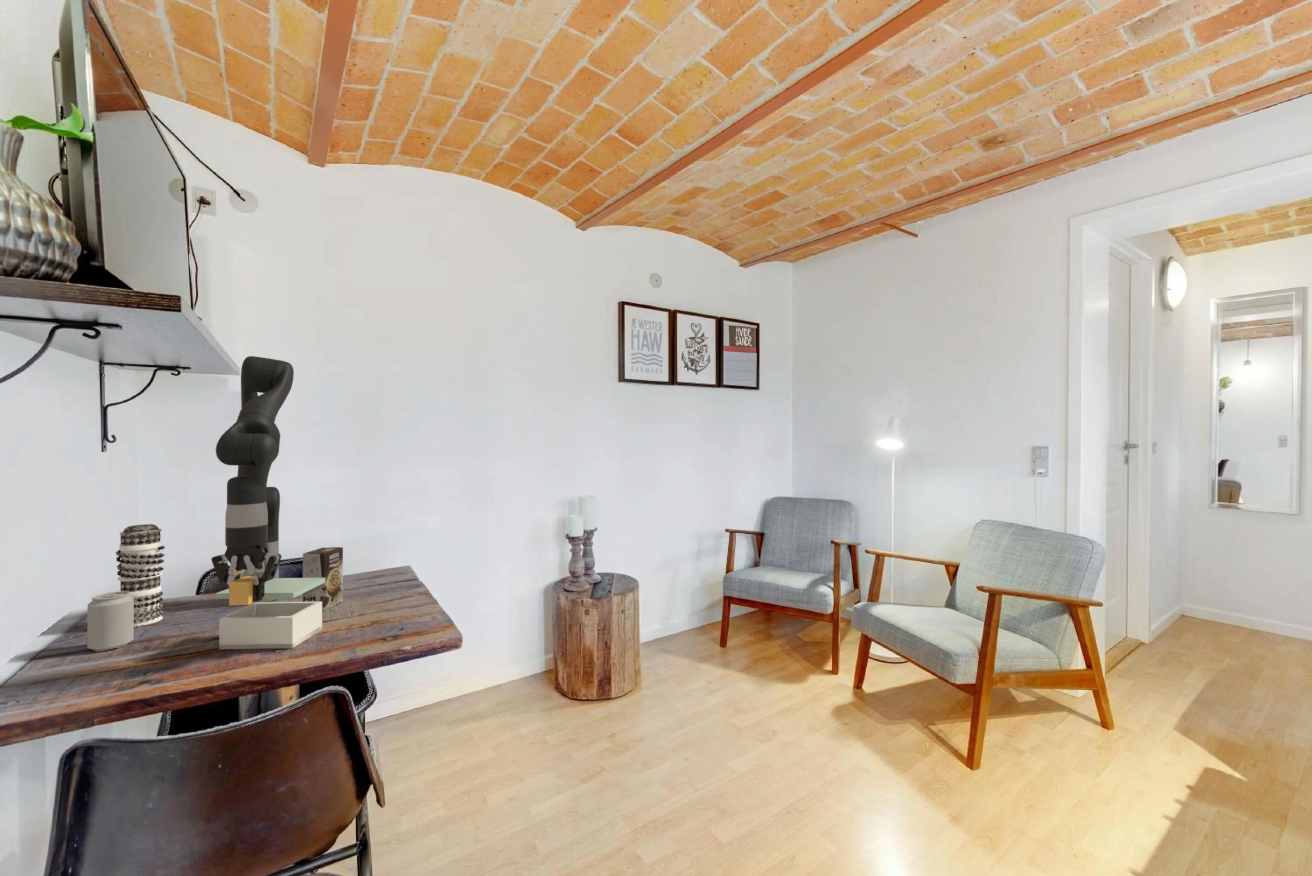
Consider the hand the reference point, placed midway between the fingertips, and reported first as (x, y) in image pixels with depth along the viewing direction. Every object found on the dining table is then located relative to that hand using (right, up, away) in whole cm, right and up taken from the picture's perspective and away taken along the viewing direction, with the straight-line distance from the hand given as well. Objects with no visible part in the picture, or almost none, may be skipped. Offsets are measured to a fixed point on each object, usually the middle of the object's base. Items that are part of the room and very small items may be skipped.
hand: (246, 600), depth 120 cm
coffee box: (-4, -12, +34) cm, 36 cm away
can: (-34, -12, +4) cm, 36 cm away
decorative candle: (-43, -12, +21) cm, 49 cm away
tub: (0, -12, +9) cm, 15 cm away
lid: (0, -1, +7) cm, 7 cm away
